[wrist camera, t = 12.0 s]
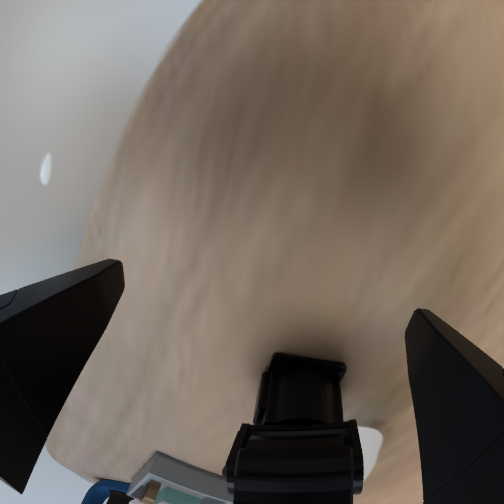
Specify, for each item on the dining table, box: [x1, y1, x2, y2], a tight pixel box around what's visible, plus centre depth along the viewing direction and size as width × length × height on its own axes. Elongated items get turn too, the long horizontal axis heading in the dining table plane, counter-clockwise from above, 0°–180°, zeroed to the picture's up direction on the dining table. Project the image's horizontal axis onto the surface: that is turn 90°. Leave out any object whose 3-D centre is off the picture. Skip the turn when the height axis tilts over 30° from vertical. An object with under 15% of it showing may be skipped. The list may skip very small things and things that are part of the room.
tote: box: [126, 451, 233, 504], centre depth 40 cm, size 20×13×4 cm, turn 151°
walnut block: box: [139, 479, 162, 504], centre depth 42 cm, size 6×8×4 cm
